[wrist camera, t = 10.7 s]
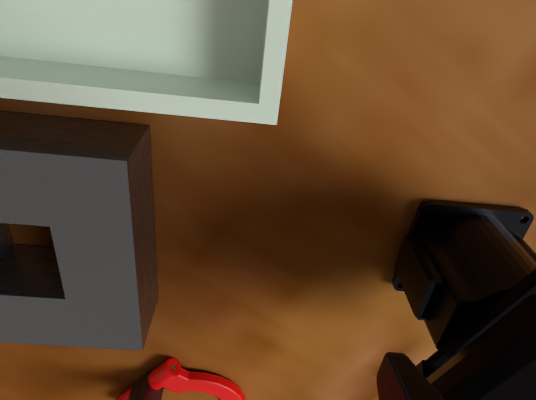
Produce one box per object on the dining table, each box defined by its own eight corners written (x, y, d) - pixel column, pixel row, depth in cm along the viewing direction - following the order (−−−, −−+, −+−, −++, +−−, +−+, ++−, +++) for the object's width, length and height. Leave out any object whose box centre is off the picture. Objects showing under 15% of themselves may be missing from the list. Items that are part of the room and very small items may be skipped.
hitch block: (149, 125, 20) (126, 161, 16) (158, 298, 26) (142, 350, 23) (-106, 100, 19) (-186, 132, 16) (-34, 285, 25) (-80, 337, 22)
